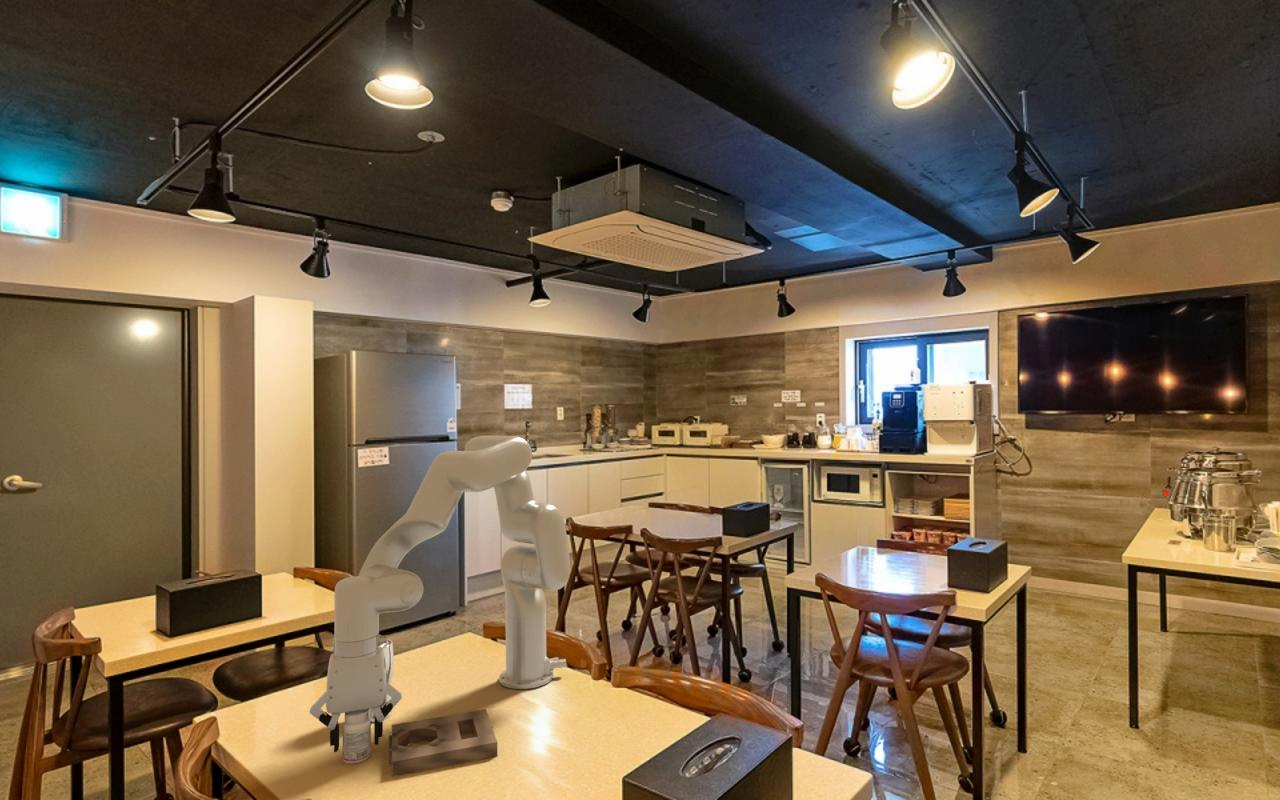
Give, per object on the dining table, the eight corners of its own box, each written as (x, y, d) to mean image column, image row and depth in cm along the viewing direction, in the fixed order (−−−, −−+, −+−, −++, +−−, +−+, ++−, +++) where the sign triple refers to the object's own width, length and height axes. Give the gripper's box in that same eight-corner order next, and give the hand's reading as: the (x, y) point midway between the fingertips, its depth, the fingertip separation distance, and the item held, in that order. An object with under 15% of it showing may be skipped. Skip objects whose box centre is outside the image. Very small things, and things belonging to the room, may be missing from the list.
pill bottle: (348, 751, 122) (348, 706, 122) (374, 750, 122) (374, 704, 122) (338, 765, 117) (338, 717, 117) (365, 763, 117) (365, 716, 117)
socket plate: (485, 721, 133) (485, 708, 133) (497, 755, 119) (497, 741, 119) (389, 738, 126) (389, 725, 127) (389, 777, 112) (389, 762, 113)
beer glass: (400, 711, 138) (400, 639, 139) (377, 725, 132) (377, 650, 132) (374, 707, 141) (374, 636, 141) (350, 721, 134) (350, 647, 135)
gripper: (406, 633, 127) (406, 727, 126) (306, 645, 120) (306, 744, 120) (407, 645, 120) (407, 745, 119) (301, 659, 113) (301, 764, 113)
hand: (356, 744), depth 119 cm, fingers open, 6 cm apart
